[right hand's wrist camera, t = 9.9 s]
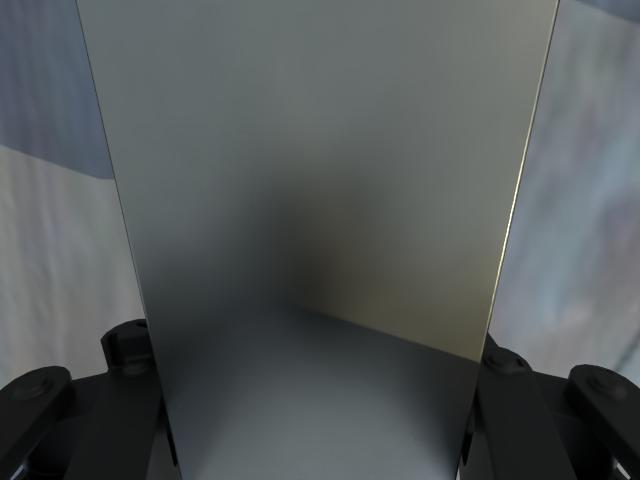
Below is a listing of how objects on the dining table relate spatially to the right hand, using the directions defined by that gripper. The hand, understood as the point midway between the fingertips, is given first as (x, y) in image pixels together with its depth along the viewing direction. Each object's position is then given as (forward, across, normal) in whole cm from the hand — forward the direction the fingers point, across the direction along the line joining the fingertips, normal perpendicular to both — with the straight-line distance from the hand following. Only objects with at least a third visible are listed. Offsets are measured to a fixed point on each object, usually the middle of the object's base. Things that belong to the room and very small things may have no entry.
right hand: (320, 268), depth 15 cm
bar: (+1, 0, -13) cm, 13 cm away
